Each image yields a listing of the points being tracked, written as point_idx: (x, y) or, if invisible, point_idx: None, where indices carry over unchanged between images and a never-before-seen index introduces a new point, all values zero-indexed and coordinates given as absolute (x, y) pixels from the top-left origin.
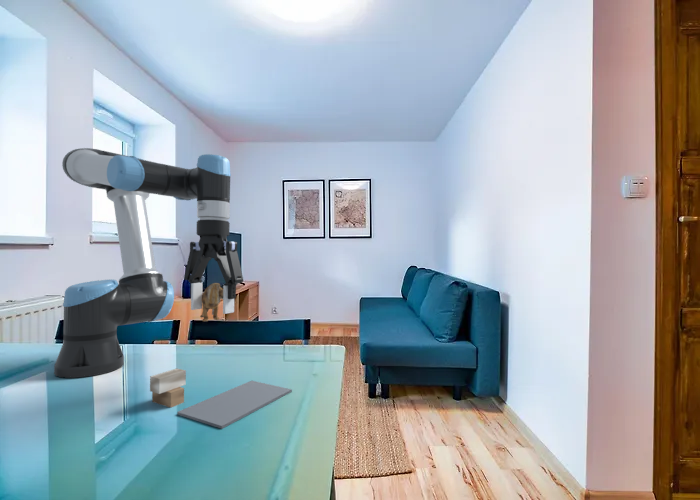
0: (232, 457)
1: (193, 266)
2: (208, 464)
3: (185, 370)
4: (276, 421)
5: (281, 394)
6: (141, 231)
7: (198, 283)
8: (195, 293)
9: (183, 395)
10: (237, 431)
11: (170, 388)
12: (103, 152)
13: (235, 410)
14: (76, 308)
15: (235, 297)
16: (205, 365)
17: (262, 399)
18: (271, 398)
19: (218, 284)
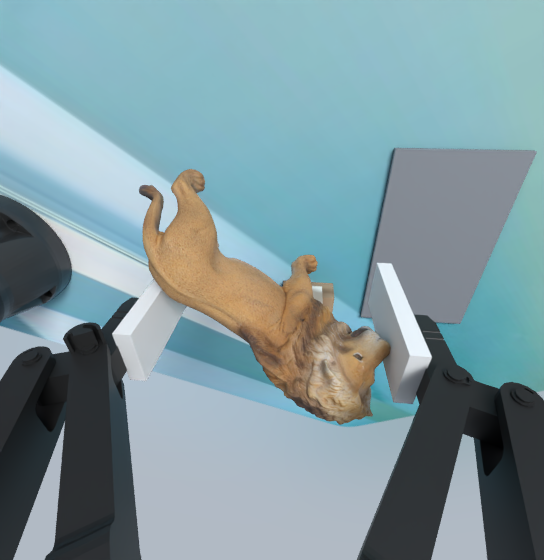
0: (511, 357)
1: (27, 463)
2: (488, 371)
3: (322, 302)
4: (540, 277)
5: (518, 191)
6: None
7: (140, 356)
8: (165, 329)
9: (333, 291)
10: (486, 318)
11: None
12: None
13: (452, 283)
14: None
15: (431, 320)
16: (168, 95)
17: (482, 230)
18: (501, 218)
19: (361, 409)
